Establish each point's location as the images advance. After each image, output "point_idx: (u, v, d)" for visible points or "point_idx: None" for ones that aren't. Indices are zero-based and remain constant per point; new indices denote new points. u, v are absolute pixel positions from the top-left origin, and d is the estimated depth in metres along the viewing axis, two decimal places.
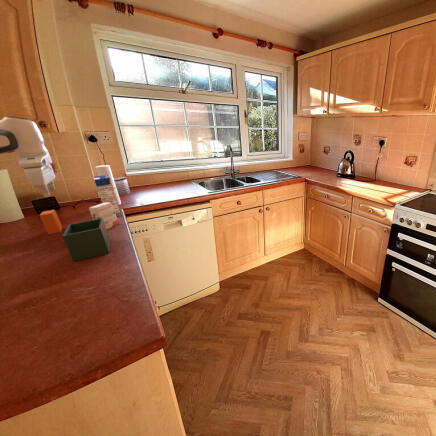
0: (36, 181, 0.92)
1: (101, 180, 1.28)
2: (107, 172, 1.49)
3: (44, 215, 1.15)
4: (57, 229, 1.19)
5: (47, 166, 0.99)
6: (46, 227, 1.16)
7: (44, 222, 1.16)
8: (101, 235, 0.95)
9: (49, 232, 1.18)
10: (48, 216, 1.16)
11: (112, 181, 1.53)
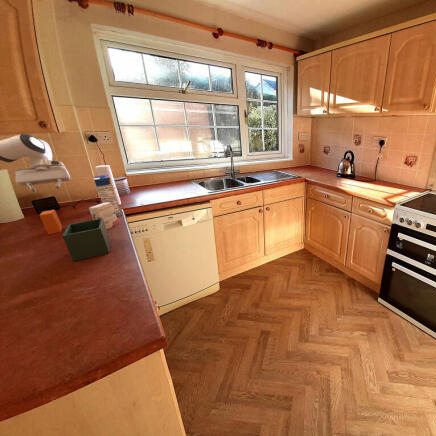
0: (69, 175, 1.30)
1: (101, 180, 1.28)
2: (107, 172, 1.49)
3: (44, 215, 1.15)
4: (57, 229, 1.19)
5: None
6: (46, 227, 1.16)
7: (44, 222, 1.16)
8: (101, 235, 0.95)
9: (49, 232, 1.18)
10: (48, 216, 1.16)
11: (112, 181, 1.53)
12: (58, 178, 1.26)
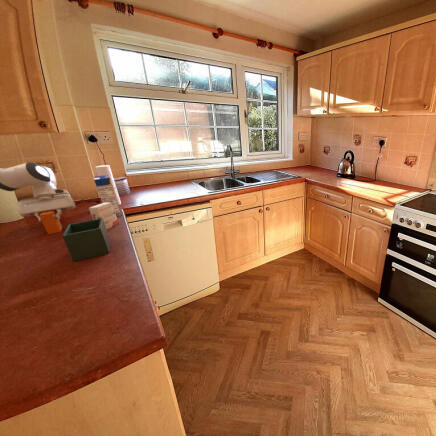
0: (74, 203, 1.25)
1: (101, 180, 1.28)
2: (107, 172, 1.49)
3: (44, 215, 1.15)
4: (57, 229, 1.19)
5: None
6: (46, 227, 1.16)
7: (44, 222, 1.15)
8: (101, 235, 0.95)
9: (49, 232, 1.18)
10: (48, 216, 1.16)
11: (112, 181, 1.53)
12: (63, 207, 1.21)
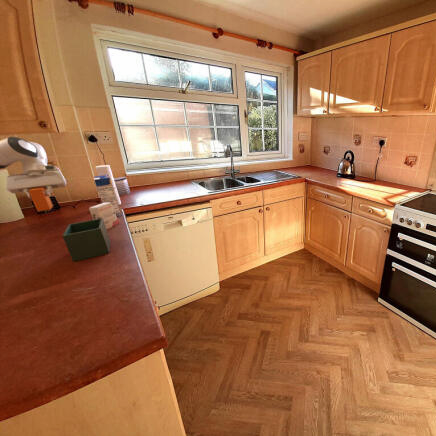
0: (65, 181, 1.20)
1: (101, 180, 1.28)
2: (107, 172, 1.49)
3: (33, 191, 1.10)
4: (47, 206, 1.14)
5: None
6: (35, 204, 1.12)
7: (33, 198, 1.11)
8: (101, 235, 0.95)
9: (39, 209, 1.13)
10: (37, 192, 1.11)
11: (112, 181, 1.53)
12: (53, 184, 1.16)
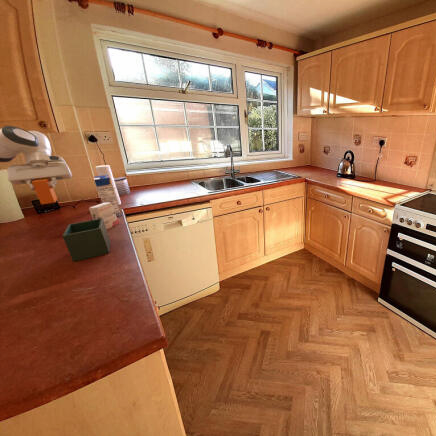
0: (70, 172, 1.13)
1: (101, 180, 1.28)
2: (107, 172, 1.49)
3: (37, 182, 1.03)
4: (51, 199, 1.07)
5: None
6: (39, 196, 1.05)
7: (37, 190, 1.04)
8: (101, 235, 0.95)
9: (42, 202, 1.06)
10: (41, 184, 1.04)
11: (112, 181, 1.53)
12: (58, 176, 1.09)
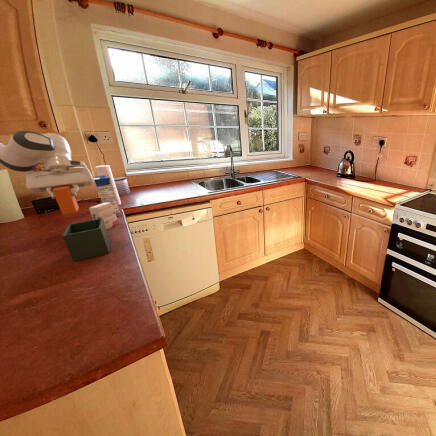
0: (92, 178, 1.03)
1: (101, 180, 1.28)
2: (107, 172, 1.49)
3: (58, 190, 0.93)
4: (73, 208, 0.97)
5: None
6: (60, 205, 0.95)
7: (58, 199, 0.94)
8: (101, 235, 0.95)
9: (64, 212, 0.96)
10: (63, 192, 0.94)
11: (112, 181, 1.53)
12: (80, 182, 0.99)
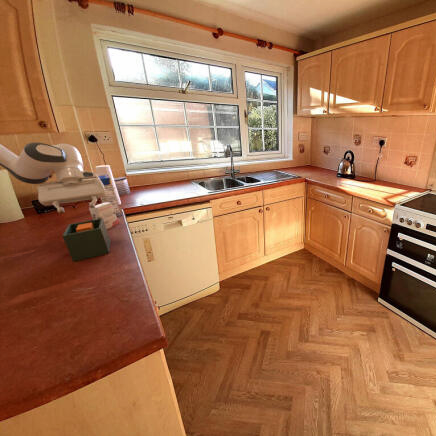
0: (105, 190, 1.00)
1: (101, 180, 1.28)
2: (107, 172, 1.49)
3: (81, 230, 0.95)
4: None
5: None
6: None
7: None
8: (101, 235, 0.95)
9: None
10: None
11: (112, 181, 1.53)
12: (92, 195, 0.97)
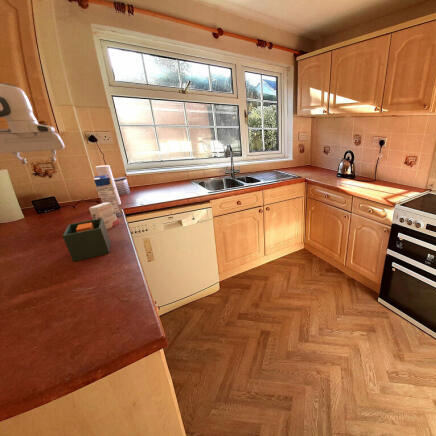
0: (63, 143, 1.08)
1: (101, 180, 1.28)
2: (107, 172, 1.49)
3: (81, 230, 0.95)
4: None
5: None
6: None
7: None
8: (101, 235, 0.95)
9: None
10: None
11: (112, 181, 1.53)
12: (52, 150, 1.06)
